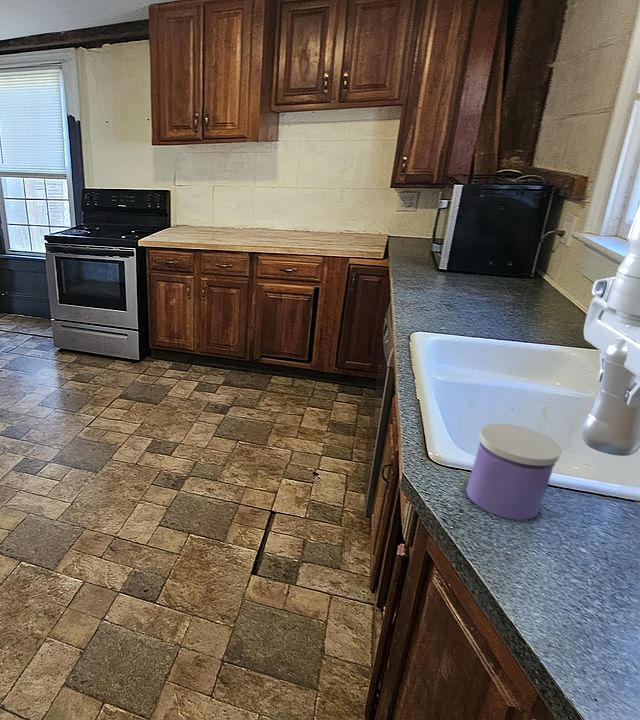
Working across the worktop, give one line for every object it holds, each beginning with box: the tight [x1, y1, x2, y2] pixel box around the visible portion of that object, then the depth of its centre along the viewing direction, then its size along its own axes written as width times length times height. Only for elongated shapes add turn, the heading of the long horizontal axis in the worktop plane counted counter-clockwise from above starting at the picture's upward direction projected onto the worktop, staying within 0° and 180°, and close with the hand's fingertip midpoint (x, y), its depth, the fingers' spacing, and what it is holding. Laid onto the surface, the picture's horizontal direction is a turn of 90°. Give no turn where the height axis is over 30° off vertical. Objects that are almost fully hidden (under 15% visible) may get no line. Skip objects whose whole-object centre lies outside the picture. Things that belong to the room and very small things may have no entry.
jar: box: [465, 423, 562, 521], centre depth 92 cm, size 12×12×12 cm
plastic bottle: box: [581, 324, 640, 457], centre depth 73 cm, size 6×7×20 cm
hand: (618, 394), depth 74 cm, fingers closed on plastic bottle, 6 cm apart
